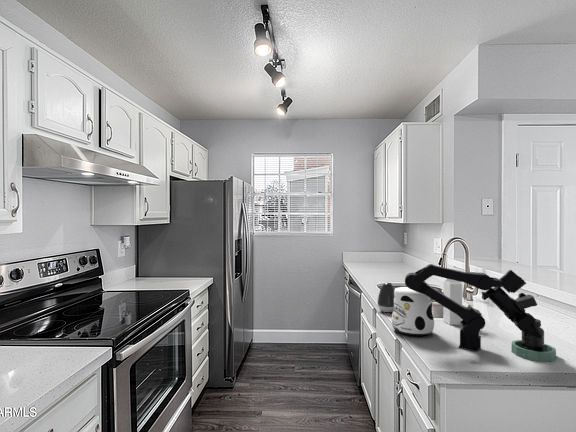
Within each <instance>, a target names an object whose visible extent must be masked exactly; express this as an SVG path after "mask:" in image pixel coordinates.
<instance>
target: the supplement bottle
mask: <svg viewBox="0 0 576 432" xmlns="http://www.w3.org/2000/svg"><path fill="white" fill-rule="evenodd" d="M535 319H536V321H535V322H534V325H535V327H536V329H537V330H538V331H539V333H540V334H541V336H542V337H541V338H540V339H539V338H537V337H535V336H533V335H531V334H529V333H526V332H524V331H521V340H522V348H524V349H527V350H532V351H538V352H544V344H545V330H544V328H542V327H541V326H542V322H541V319H537V318H535Z"/></svg>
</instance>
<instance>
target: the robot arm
mask: <svg viewBox="0 0 576 432" xmlns="http://www.w3.org/2000/svg"><path fill="white" fill-rule="evenodd" d="M432 276H435V277H439V278H444V279H446V280H447V279H452V280H456V281H460V282H461V283H464V284H467V285H469V286H472V287H474V288H476V289H479V290H480V291H481V299H482V300H483V301H486V300H487V299H489V300H490V301H491V302H492V303H493V305H495V306H496V307H497V308H498V309H499V310H500V311H501V312H502V313H503V314H504V316H505V317H506V318H507V319H508V320H509V321H511V322H512V323H513V324H514V325H515V327H517V329H519V330H520V332H522V331H524V332H526V333H529V334H531V335H533V336H535V337H537V338H539V339H540V338H541V337H542V336H541V334H540V333H539V331H538V330H537V329H536V327H535V325H534V322H535V321H536V319H537V318H535V317H534V316H533V314H531V313H529V312H526V309H528V308H532V307H536V306H538V302H537V301H536V298H535V297H534V295H532V294H525V293H524V292H520V293H518V297H516V299H515V298H513V297H511V296H510V295H509V294H510V293H512V294H515V293H516V292H518V291H519V290H520V289H521V288H522V287H524V286H525V285H526V284H527V282H526V281H525V279H523V278H522V277H521V276H519V275H518V274H516V272H514V271H513V270H512V269H509V270H507V272H506V273H504V274H503V276H501V277H499V278H498V277H492V276H490V275H488V274H487V273H484V272H475V271H473V272H469V271H468V272H467V271H466V272H465V271H461V270H456V269H452V268H447V267H444V266H438V265H436V264H434V263H433V264H432V263H429V264H428V265H426V266H424V267H422V268H420V269H419V270H417V271H415V272H408V273H407V274H406V275H405V279H404V284H405V287H408V288H409V289H411V290H414V291H416V292H419V293H422V294H425V295H426V296H428V297H430V298H431V299H432V301H434V302H436V303H438V304H439V305H441V306H442V307H443V306H444V307H446V308H447V309H449V310H450V311H452V312H453V313H455V314H457V315H458V316H459V317H460V318H461V319H462V321H461V322H460V324H461V325H460V326H461V328H460V330H459V345H458V348H459V349H464V350H469V351H474V352H478V351H480V349H481V347H482V336H481V335H480V332H481V330H482V329H484V328H485V327H486V319H485V318H484V316H483V315H482V313H481V311H480V310H479V309H475V308H474V307H473V306H472V305H470V304H468V305H467V306H465V305H463V304H462V305H460V304H458V303H457V302H455V301H453V300H452V299H450V298H449V297H447V296H445V295H444V293H442V292H440V291H439V290H437V289H436V288H434V287H432V286H430V285H429V284H428V283H427V282H426V280H428V279H429V278H431V277H432ZM502 288H503V289H502ZM506 291H507V292H506ZM508 293H509V294H508Z"/></svg>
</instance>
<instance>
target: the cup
mask: <svg viewBox="0 0 576 432" xmlns="http://www.w3.org/2000/svg"><path fill="white" fill-rule="evenodd" d="M511 353H513V354H514V355H515V356H518V357H520V358H523V359H526V360H531V361H536V362H546V363H548V362H549V363H551V362H556V361H557V348H555V347H553V346H552V345H551V344H547V343H544V352H538V351H532V350H527V349H524V348H522V339H517V340H512V341H511Z"/></svg>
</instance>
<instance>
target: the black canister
mask: <svg viewBox="0 0 576 432" xmlns="http://www.w3.org/2000/svg"><path fill="white" fill-rule="evenodd" d="M394 290H395V287H394V286H393V284H392V282H385V283H383V284H382V285H381V287H380V290H379V293H378V296H377V297H378V298H377V306H378V309H379V310H380V311H381V312H383V313H385V312H392V313H393V311H394Z"/></svg>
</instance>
